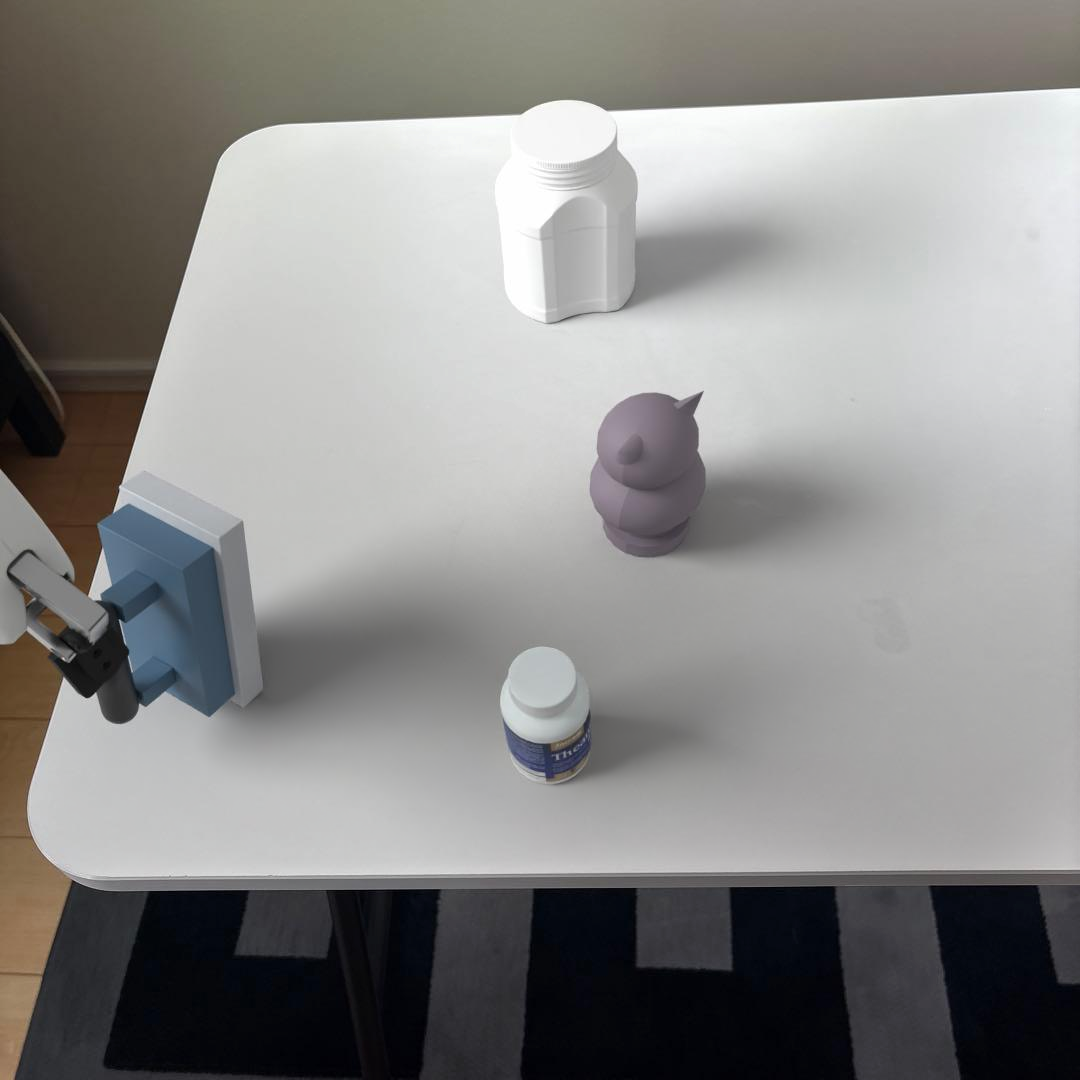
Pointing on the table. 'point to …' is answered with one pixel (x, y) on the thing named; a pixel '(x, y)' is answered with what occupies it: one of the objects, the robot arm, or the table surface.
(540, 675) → the pill bottle
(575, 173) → the jar
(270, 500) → the table surface
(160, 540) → the scrub brush
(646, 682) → the table surface
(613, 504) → the mauve rounded figurine
